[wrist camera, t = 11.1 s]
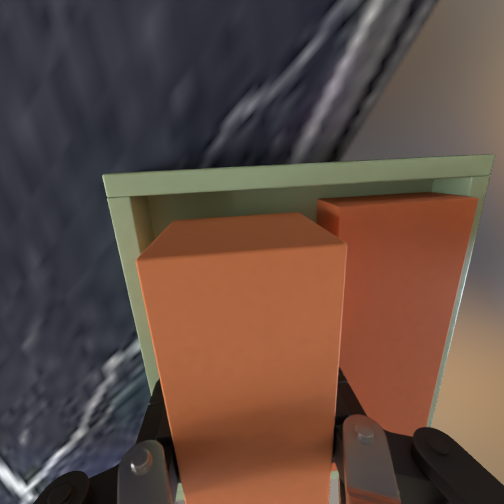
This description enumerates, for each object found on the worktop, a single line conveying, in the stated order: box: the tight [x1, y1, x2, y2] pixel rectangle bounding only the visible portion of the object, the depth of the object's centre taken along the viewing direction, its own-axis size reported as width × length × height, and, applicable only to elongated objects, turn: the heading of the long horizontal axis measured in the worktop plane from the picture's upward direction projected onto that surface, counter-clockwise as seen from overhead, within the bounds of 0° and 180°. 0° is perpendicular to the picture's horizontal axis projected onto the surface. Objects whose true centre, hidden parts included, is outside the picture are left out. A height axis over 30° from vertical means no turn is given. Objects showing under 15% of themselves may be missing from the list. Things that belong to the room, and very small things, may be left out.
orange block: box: [136, 212, 347, 504], centre depth 10 cm, size 14×5×4 cm, turn 3°
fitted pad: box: [317, 192, 478, 471], centre depth 13 cm, size 14×6×2 cm, turn 3°
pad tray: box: [103, 154, 495, 501], centre depth 14 cm, size 18×15×3 cm
